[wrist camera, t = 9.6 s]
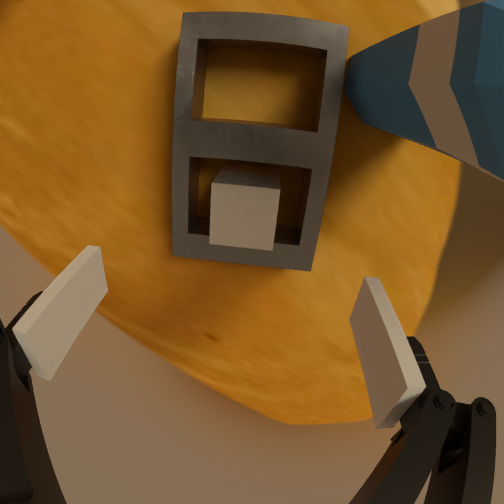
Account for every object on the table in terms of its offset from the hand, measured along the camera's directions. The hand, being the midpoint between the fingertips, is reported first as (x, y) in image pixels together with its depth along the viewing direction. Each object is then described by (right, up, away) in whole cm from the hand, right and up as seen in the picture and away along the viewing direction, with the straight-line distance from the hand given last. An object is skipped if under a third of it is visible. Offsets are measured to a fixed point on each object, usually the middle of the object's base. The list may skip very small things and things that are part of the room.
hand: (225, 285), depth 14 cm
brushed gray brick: (+1, +7, +15) cm, 16 cm away
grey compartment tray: (+2, +12, +12) cm, 17 cm away
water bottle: (+14, +17, +9) cm, 24 cm away
